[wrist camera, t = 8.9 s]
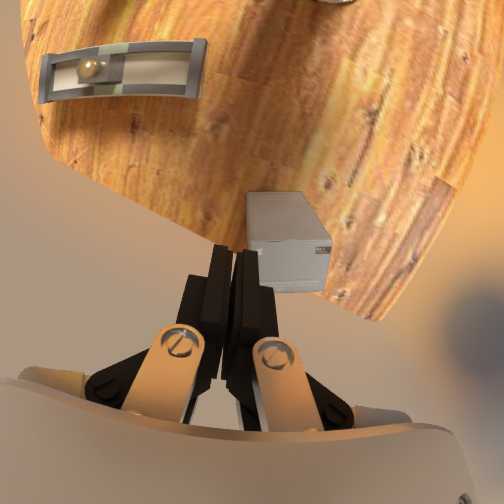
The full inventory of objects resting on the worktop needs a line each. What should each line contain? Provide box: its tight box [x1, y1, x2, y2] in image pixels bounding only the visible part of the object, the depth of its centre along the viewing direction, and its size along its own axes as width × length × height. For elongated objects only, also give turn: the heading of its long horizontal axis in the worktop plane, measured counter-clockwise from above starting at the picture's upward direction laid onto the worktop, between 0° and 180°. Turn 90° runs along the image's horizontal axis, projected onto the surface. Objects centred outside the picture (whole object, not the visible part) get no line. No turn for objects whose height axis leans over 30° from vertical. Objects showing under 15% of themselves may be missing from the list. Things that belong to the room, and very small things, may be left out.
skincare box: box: [247, 191, 333, 293], centre depth 34 cm, size 8×7×16 cm
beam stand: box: [38, 38, 210, 104], centre depth 26 cm, size 7×22×8 cm, turn 81°
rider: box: [76, 54, 125, 84], centre depth 22 cm, size 3×4×6 cm
